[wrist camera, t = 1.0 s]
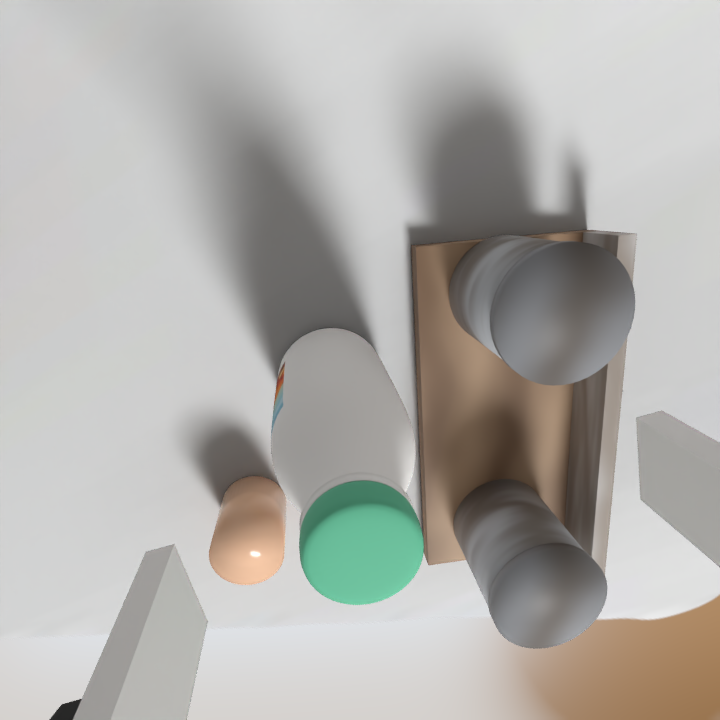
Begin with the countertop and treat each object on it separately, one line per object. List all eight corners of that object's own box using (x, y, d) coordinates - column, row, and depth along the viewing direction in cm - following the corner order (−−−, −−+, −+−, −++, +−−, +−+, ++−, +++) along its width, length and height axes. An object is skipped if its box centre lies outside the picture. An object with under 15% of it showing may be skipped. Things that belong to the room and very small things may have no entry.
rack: (424, 557, 42) (461, 661, 33) (410, 239, 34) (455, 252, 24) (567, 536, 44) (645, 631, 34) (587, 224, 35) (697, 230, 26)
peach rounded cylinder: (227, 534, 40) (215, 589, 34) (217, 480, 38) (203, 528, 32) (289, 526, 40) (288, 579, 34) (282, 472, 38) (279, 518, 33)
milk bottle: (298, 310, 35) (296, 435, 16) (397, 345, 36) (503, 495, 17) (264, 406, 37) (226, 620, 18) (360, 435, 38) (419, 659, 19)
